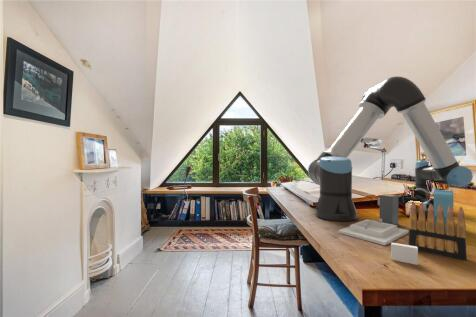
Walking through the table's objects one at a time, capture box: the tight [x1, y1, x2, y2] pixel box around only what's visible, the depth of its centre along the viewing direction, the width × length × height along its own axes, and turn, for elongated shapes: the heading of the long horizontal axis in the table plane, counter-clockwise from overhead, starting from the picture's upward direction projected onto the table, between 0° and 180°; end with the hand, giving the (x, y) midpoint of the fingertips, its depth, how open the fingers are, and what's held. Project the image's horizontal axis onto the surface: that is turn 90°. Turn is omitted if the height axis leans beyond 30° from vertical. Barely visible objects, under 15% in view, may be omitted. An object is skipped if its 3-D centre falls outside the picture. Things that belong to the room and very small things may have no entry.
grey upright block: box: [379, 193, 399, 226], centre depth 81 cm, size 4×5×10 cm
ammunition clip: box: [408, 202, 468, 262], centre depth 57 cm, size 11×2×12 cm, turn 47°
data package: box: [434, 189, 454, 233], centre depth 75 cm, size 12×4×12 cm, turn 138°
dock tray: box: [338, 217, 409, 246], centre depth 72 cm, size 13×17×4 cm
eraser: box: [390, 242, 419, 265], centre depth 53 cm, size 1×5×4 cm, turn 57°
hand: (398, 204), depth 85 cm, fingers open, 13 cm apart
